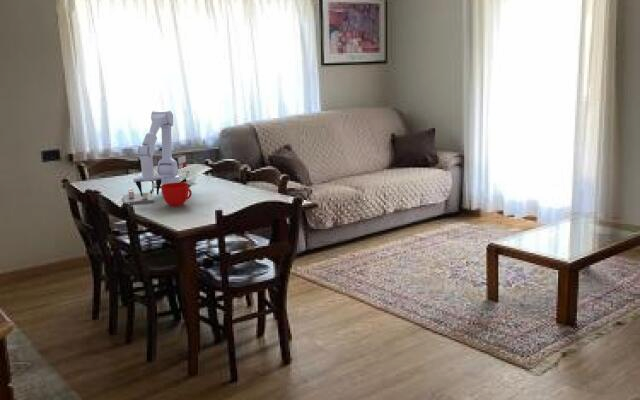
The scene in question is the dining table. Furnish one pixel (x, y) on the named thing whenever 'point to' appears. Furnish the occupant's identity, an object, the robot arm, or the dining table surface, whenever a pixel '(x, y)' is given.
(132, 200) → the switch base
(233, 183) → the dining table surface
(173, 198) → the ceramic cup
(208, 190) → the dining table surface
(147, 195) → the sage knob
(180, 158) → the red and white box
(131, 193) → the rose knob
